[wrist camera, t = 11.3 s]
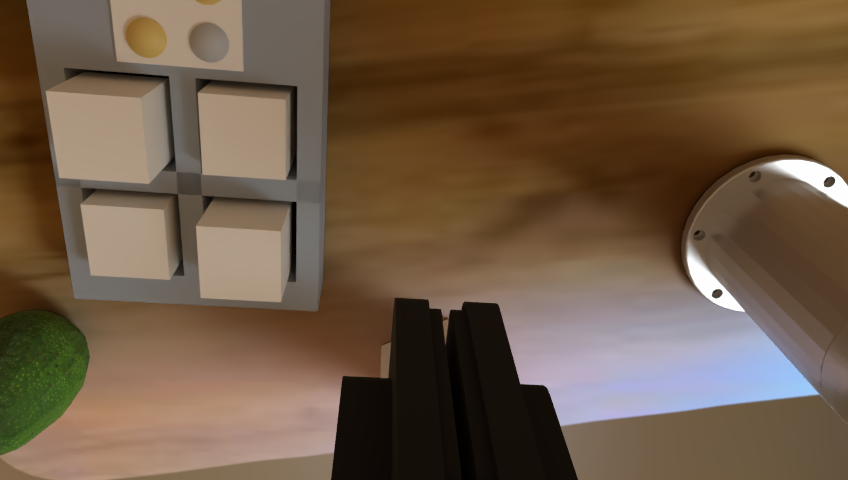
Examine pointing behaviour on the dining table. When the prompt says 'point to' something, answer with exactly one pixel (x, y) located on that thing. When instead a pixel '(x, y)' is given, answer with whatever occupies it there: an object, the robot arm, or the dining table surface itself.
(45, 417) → the avocado
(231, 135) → the button
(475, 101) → the dining table surface
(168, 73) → the board
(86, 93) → the button
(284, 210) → the button
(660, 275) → the dining table surface
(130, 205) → the button
